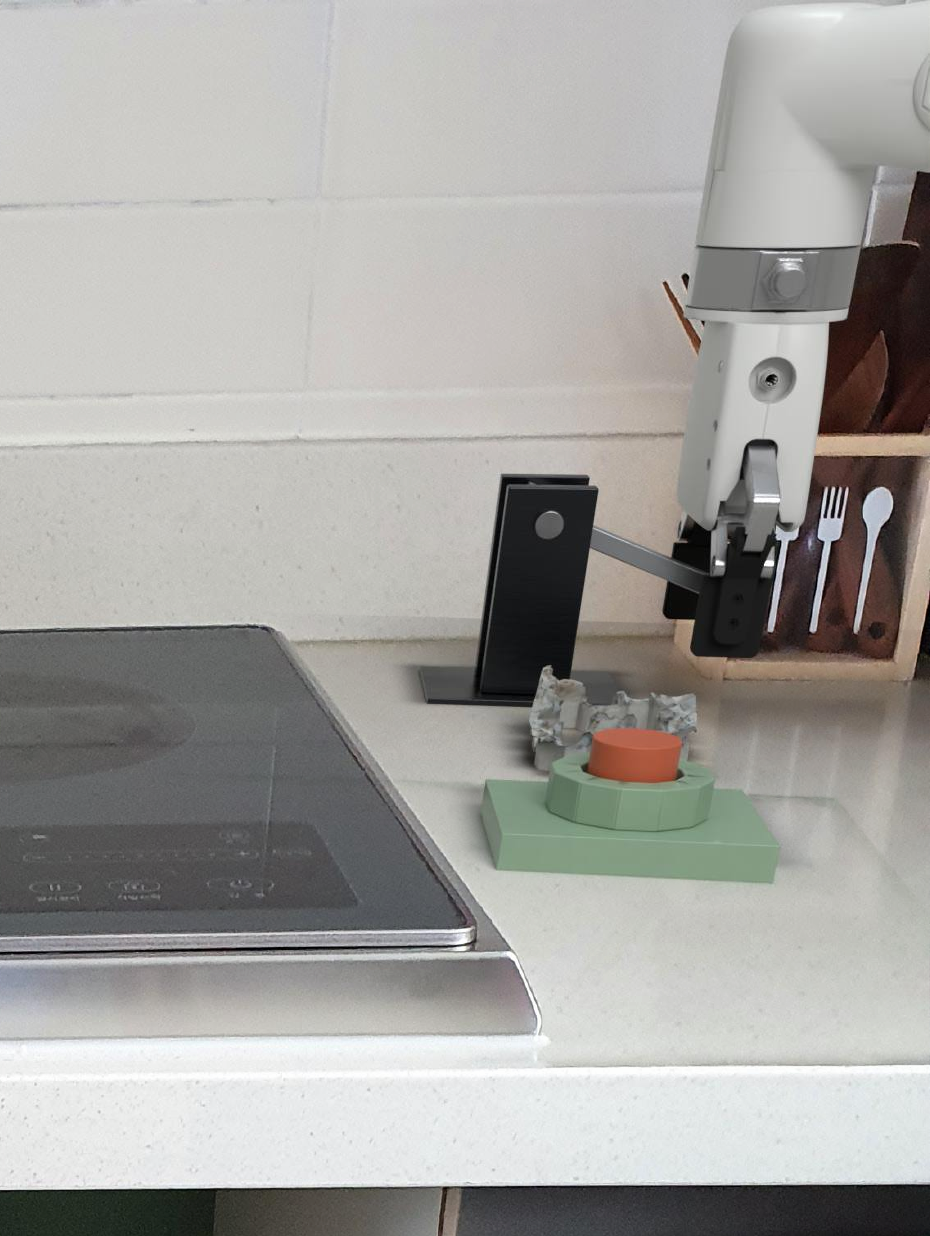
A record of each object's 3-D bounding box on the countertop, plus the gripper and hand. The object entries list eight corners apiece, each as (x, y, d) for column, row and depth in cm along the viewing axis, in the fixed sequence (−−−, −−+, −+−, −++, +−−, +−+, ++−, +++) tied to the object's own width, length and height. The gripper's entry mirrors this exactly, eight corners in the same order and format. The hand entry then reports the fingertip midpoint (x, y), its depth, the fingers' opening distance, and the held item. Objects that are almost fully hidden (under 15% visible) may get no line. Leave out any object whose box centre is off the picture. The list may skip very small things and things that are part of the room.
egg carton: (527, 741, 117) (539, 661, 115) (684, 752, 114) (699, 670, 113) (516, 792, 108) (529, 706, 106) (686, 805, 105) (702, 717, 104)
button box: (735, 826, 102) (749, 749, 101) (772, 885, 94) (789, 803, 93) (480, 815, 105) (490, 740, 103) (496, 872, 97) (507, 791, 95)
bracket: (604, 693, 126) (640, 471, 121) (623, 727, 119) (661, 493, 114) (417, 687, 128) (444, 468, 123) (425, 720, 121) (453, 490, 116)
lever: (710, 606, 122) (735, 564, 120) (727, 627, 117) (753, 583, 116) (503, 519, 122) (525, 476, 121) (511, 536, 117) (535, 491, 116)
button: (668, 769, 99) (675, 729, 99) (681, 790, 96) (688, 749, 95) (582, 765, 100) (588, 726, 99) (591, 787, 97) (598, 746, 96)
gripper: (892, 299, 104) (817, 674, 111) (815, 275, 119) (754, 607, 127) (717, 299, 106) (655, 669, 113) (663, 276, 121) (611, 604, 128)
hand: (707, 636), depth 120 cm, fingers open, 9 cm apart
